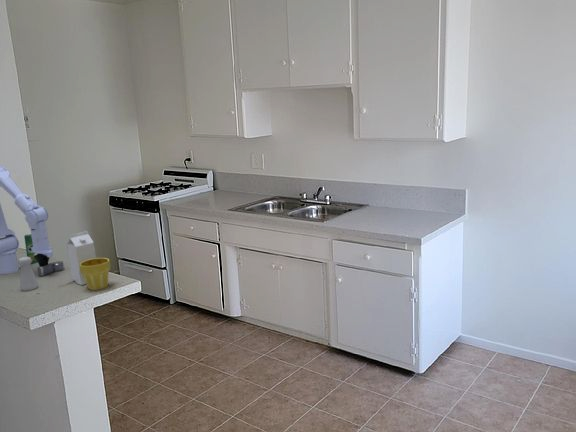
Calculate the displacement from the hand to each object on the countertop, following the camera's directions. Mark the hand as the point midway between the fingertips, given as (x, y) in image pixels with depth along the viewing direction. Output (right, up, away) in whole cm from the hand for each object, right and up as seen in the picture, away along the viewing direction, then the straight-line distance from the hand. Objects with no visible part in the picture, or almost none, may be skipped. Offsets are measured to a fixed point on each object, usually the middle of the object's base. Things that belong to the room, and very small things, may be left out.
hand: (44, 271), depth 214 cm
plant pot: (+27, -4, -17) cm, 32 cm away
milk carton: (+20, -3, -9) cm, 22 cm away
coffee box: (-13, +1, +22) cm, 25 cm away
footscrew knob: (+2, 0, +1) cm, 2 cm away
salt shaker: (+3, -6, -17) cm, 18 cm away
